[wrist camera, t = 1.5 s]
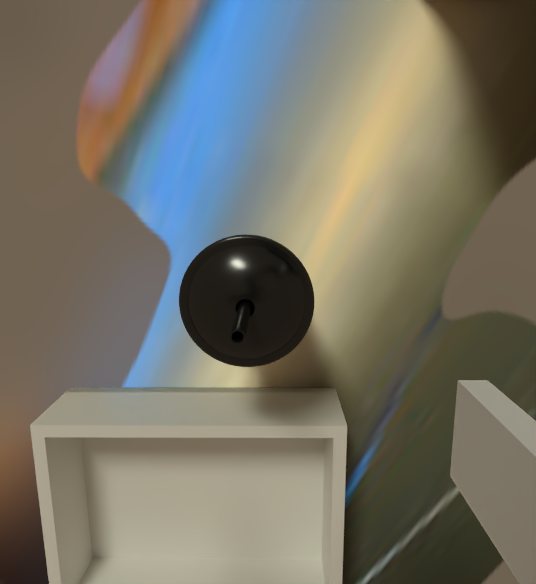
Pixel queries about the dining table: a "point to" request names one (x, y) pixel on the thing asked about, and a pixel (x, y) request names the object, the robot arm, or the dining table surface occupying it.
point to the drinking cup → (246, 300)
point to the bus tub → (192, 485)
